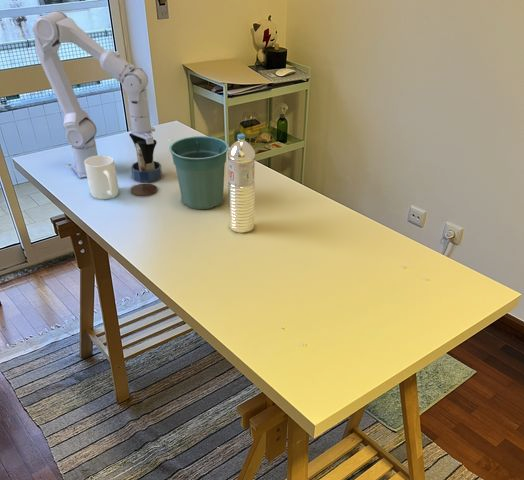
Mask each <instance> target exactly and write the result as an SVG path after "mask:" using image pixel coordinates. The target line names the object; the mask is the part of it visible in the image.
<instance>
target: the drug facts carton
mask: <svg viewBox="0 0 524 480" xmlns="http://www.w3.org/2000/svg"><path fill="white" fill-rule="evenodd" d="M135 145H136V147H135V150H136V157H137V158H136V159H137V162H138V166H139V171H152V170H155V168H154V161H155V160H154V159H153V161H152V163H149V164H145V162H144V158H143V155H142V151H141V149H140V147H139V145H138V143H135ZM135 145H134V146H135Z"/></svg>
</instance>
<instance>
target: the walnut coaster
mask: <svg viewBox="0 0 524 480" xmlns="http://www.w3.org/2000/svg"><path fill="white" fill-rule="evenodd" d="M130 193H131V194H132V195H133V196H136V197H150V196H153V195H155V194H156V193H158V187H157V186H156V185H155V184H153V183H137V184H135V185H133V186H132V187H130Z"/></svg>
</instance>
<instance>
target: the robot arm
mask: <svg viewBox="0 0 524 480" xmlns="http://www.w3.org/2000/svg"><path fill="white" fill-rule="evenodd" d="M31 30H32V32H33V35H34V48H35V50H34V51H35V53H36V55H37V57H38V60H39V62H40V64H41V67H42V69H43V71H44V73H45V76H46V78H47V80H48V82H49V85H50V86H51V89H52V91H53V93H54V96H55V98H56V100H57V102H58V104H59V107H60V108H61V111H62V113H63V122H62V123H63V124H62V126H63V128H64V130H65V139H66V141H67V143H68V144H69V145H71V151H72V155H73V160H74V163H75V165H73V166H72V169H73V170H74V171H75V174H77V176H78V178H79V179H83V178H87V173H86V168H85V163H84V161H85V160H86V159H87V158H89V157H93V156H99V154H98V149H97V144H96V139H95V138H96V137H95V136H96V135H97V133H98V128H97V125H96V124H95V122H94V121H93V120H92V119H91V118H90V116H89V114H88V112H87V111H86V110H85V109H82V107H81V105H80V102H79V100H78V98H77V96H76V93H75V91H74V89H73V86H72V83H71V81H70V79H69V77H68V75H67V72H66V70H65V67H64V64H63V63H62V60H61V57H60V55H59V54H58V52H59V50H60V47H61V44H62V43H67V44H68V43H69V44H74V45H75V46H77V47H78V48H80V49H82V51H84V52H85V53H87V54H88V55H90V56H92V57H93V58H94V59H95V60H97V61H98V62H99V64H100V68H101V69H102V70H103V71H104V72H106V73H107V74H108V75H109V76H111V77H112V78H113V79H115V80H116V81H117V82H119V84H121V86H122V89H123V90H124V92H125V94H126V97H127V105H128V111H129V112H128V113H129V120H130V126H131V133H129V137H130V138H131V140H132V142H133V144H134V148H136V145H135V143H138V145H139V147H140V149H141V151H142V155H143V158H144V162H145V164H149V163H152V161H153V160H154V152H155V148H156V145H157V143H158V141H157V140H156V139H154V136H153V132H156V128H155V127H153V126H152V125H151V116H150V115H151V114H150V108H149V99H148V92H147V88H146V87H147V86H148V84H149V77H148V75H147V73H146V71H144V70H143V68H141V67H138V66H137V67H135V64H133V63H129V61H127V60H126V59H124V58H123V57H122V56H121V53H120V52H119V51H117V50H116V51H115V50H113V49H109V50H107V49H105V48H104V47H102V45H100V44H99V43H98V42H97V41H96V40H95V39H93V38H92V37H91V36H90V35H89V34H88V33H86V31H84V30H83V29H82V28H81V27H80V26H79V25H78V24H77V23H76V21H75V20H74V19H73V18H71V17H70V16H68V15H67V14H66V13H64V12H63V11H61V10H53V11H52V12H50V13H47V14H44V15H40V16H38V17H37V18H36V19H35V21H34V23H33V26H32V29H31Z"/></svg>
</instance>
